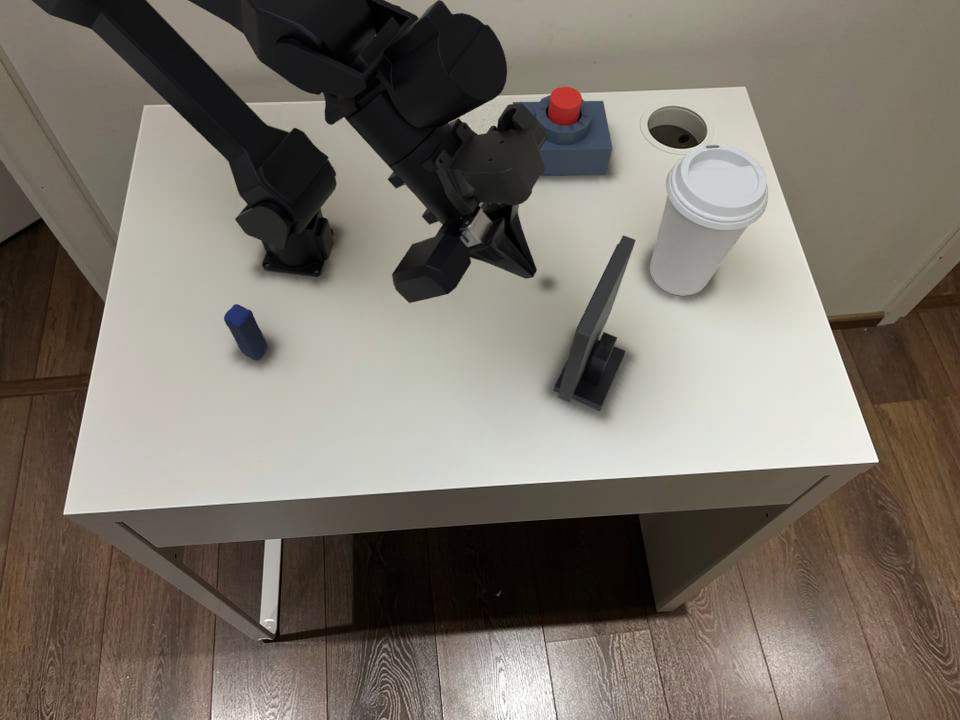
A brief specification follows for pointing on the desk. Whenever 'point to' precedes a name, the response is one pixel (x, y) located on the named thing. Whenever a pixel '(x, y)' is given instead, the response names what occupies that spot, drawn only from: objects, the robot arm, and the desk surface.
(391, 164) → the robot arm
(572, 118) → the power button
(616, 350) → the monitor stand
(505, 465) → the desk surface
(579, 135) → the switch box
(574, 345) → the screen
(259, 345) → the eraser
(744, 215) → the coffee cup
